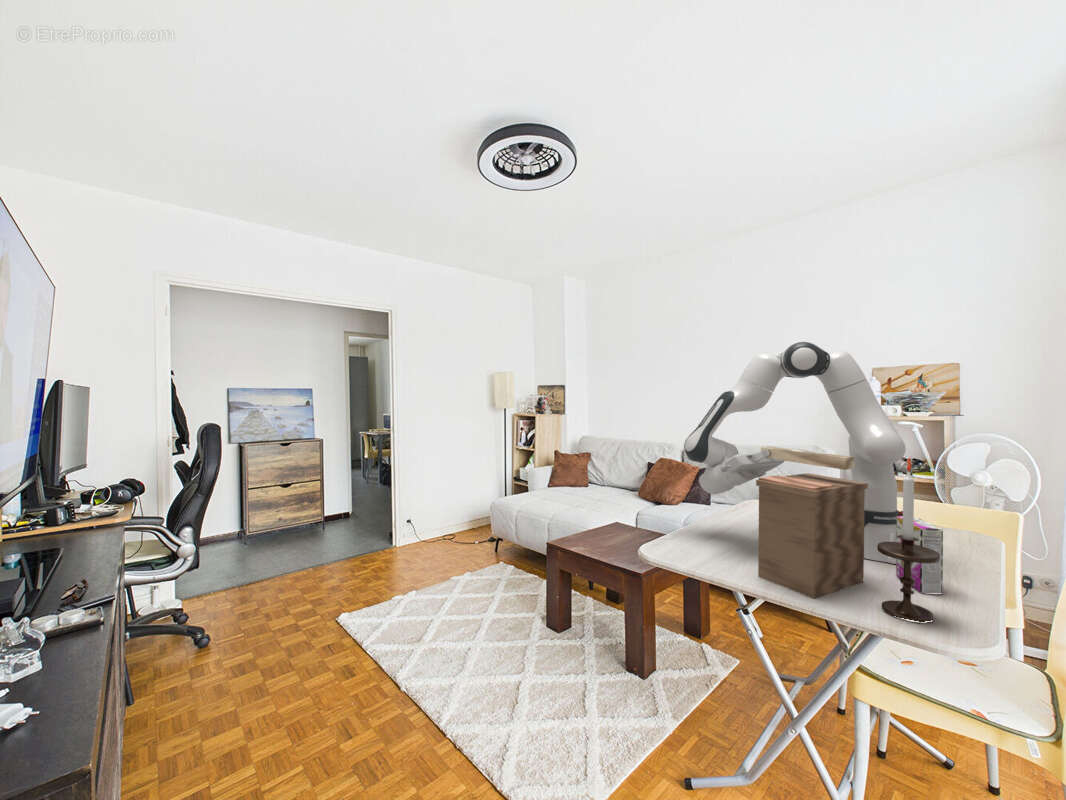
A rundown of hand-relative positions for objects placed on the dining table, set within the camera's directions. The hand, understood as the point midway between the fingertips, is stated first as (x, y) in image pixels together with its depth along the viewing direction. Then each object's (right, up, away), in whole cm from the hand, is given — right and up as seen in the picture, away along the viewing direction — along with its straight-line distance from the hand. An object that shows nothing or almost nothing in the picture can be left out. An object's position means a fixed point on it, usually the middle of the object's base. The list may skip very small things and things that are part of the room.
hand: (775, 451), depth 137 cm
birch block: (+4, -2, -8) cm, 9 cm away
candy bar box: (+27, -33, -18) cm, 46 cm away
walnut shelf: (+2, -32, -14) cm, 35 cm away
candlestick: (+12, -33, -33) cm, 48 cm away
